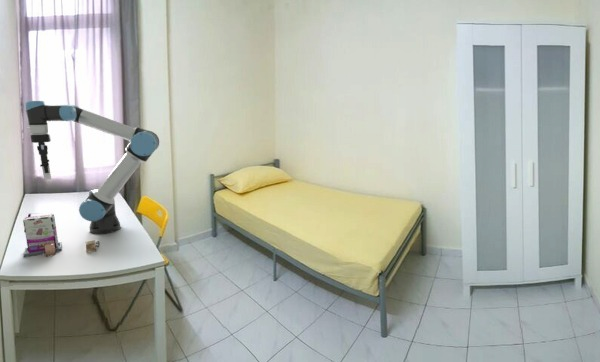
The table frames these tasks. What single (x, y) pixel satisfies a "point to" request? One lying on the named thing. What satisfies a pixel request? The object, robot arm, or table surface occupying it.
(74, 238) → the table surface
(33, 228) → the candy bar box
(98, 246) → the dark gray slab
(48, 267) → the table surface
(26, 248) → the slate tray
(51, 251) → the brown small cube
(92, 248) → the oak cube
